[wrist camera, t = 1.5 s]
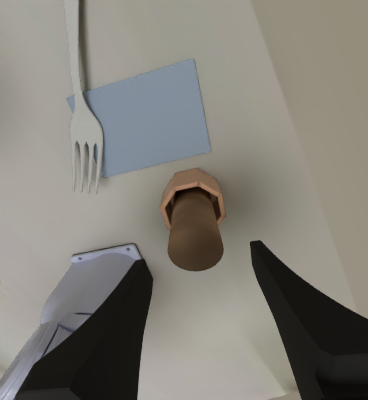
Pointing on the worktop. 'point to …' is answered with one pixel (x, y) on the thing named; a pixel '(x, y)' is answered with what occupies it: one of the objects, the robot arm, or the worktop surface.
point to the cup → (187, 181)
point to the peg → (194, 231)
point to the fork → (81, 106)
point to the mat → (149, 119)
